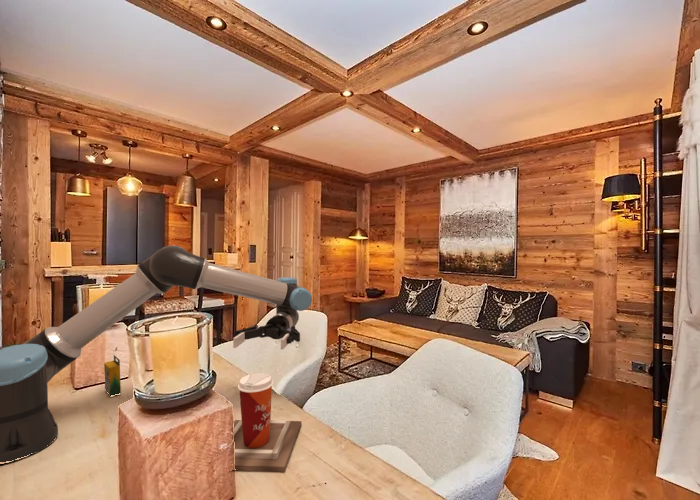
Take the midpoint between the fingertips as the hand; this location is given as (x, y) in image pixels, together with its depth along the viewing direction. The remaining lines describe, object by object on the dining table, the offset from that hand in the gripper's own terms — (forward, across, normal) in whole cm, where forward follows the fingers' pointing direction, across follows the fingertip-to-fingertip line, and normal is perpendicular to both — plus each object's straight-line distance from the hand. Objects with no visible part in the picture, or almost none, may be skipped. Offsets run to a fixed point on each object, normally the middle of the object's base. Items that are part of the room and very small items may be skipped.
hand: (258, 343), depth 93 cm
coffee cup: (+13, -4, -20) cm, 24 cm away
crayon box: (-12, +53, -22) cm, 59 cm away
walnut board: (+13, -4, -21) cm, 25 cm away
